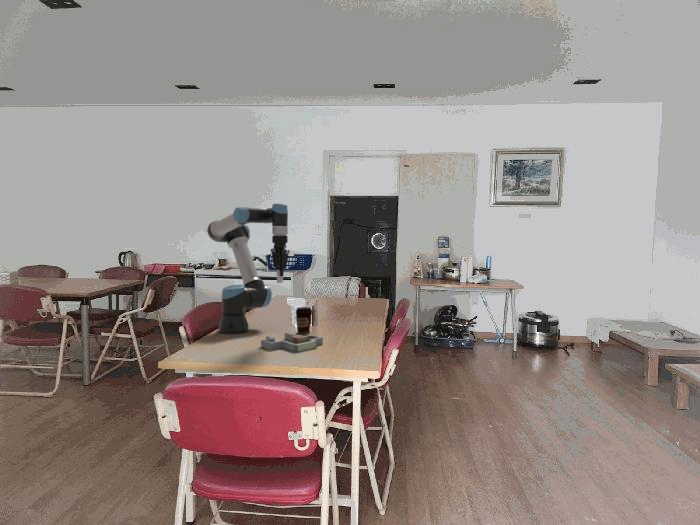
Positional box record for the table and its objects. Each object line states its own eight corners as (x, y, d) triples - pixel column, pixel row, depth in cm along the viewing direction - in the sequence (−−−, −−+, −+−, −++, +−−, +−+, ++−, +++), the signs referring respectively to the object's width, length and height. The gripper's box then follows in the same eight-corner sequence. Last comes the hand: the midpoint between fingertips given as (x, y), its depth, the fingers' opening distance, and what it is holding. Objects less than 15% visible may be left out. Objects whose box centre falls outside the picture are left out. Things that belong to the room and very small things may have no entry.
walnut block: (291, 347, 215) (291, 336, 215) (300, 345, 219) (300, 334, 218) (298, 349, 212) (298, 338, 211) (307, 347, 215) (307, 336, 215)
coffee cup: (309, 335, 240) (309, 309, 239) (293, 334, 241) (293, 308, 240) (314, 331, 248) (314, 306, 247) (298, 330, 250) (298, 305, 249)
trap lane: (254, 344, 220) (254, 338, 219) (296, 336, 236) (296, 330, 236) (284, 354, 203) (284, 347, 203) (327, 345, 220) (327, 338, 220)
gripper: (266, 234, 238) (266, 282, 239) (281, 235, 228) (281, 284, 230) (278, 234, 243) (278, 281, 245) (294, 235, 233) (294, 283, 235)
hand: (279, 282), depth 237 cm, fingers closed
